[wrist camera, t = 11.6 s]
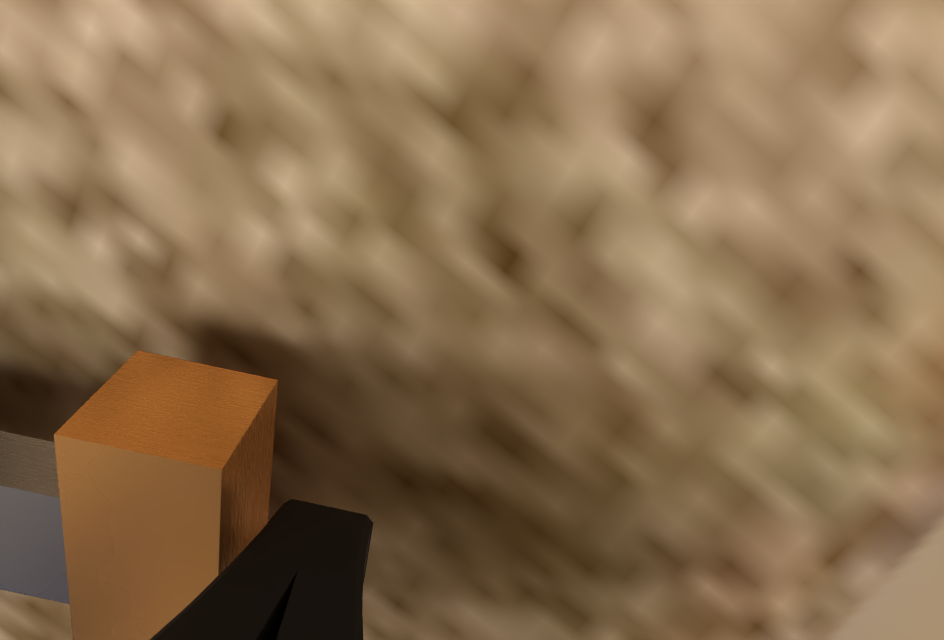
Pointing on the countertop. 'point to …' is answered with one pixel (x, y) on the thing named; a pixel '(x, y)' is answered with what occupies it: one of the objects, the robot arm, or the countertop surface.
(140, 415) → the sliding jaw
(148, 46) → the countertop surface
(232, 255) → the countertop surface
